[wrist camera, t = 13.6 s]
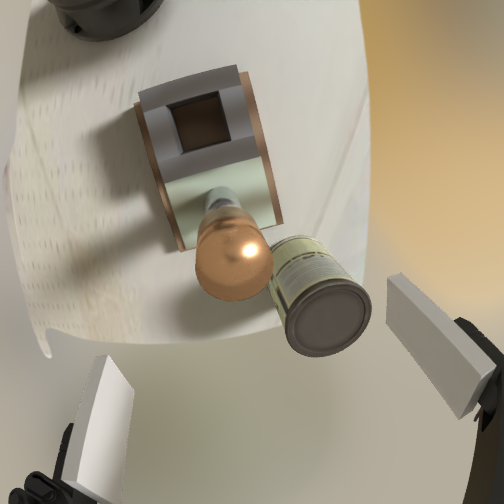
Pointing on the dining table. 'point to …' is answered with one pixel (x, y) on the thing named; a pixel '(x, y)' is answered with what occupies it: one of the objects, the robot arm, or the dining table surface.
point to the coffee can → (316, 298)
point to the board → (207, 148)
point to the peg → (231, 249)
